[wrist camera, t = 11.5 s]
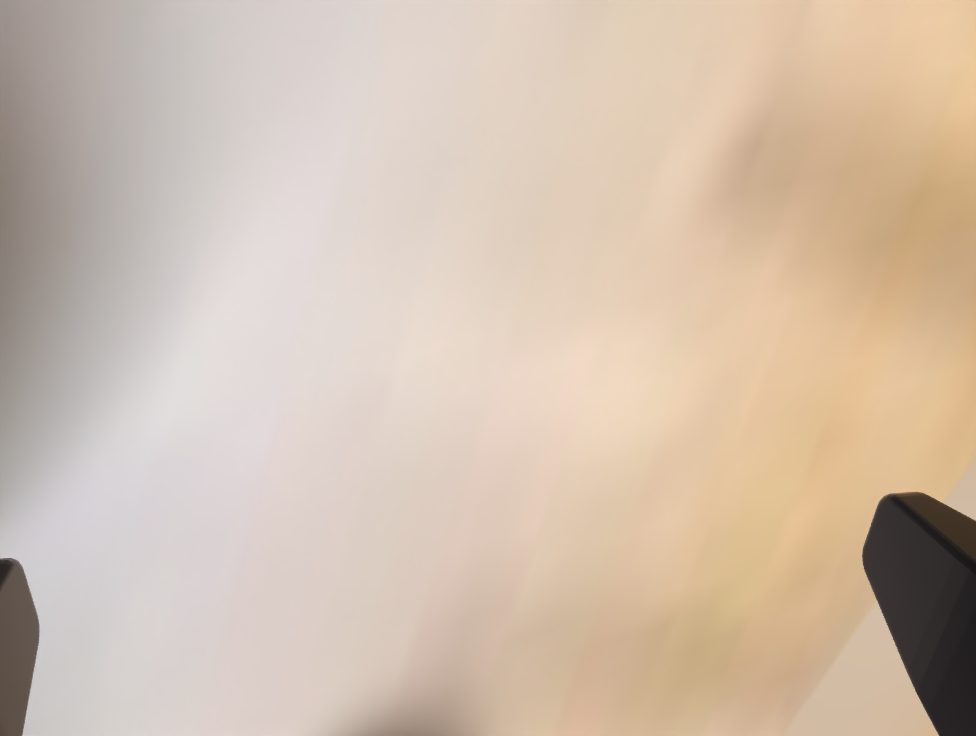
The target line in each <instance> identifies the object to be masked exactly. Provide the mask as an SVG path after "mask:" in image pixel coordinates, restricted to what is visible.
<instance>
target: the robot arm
mask: <svg viewBox="0 0 976 736" xmlns="http://www.w3.org/2000/svg"><path fill="white" fill-rule="evenodd" d="M862 558H863V565H864V569H865V573H866V575H867V577H868V580H869V582H870V585H871V587H872V589H873V592H874V594H875V597H876V599H877V601H878V604H879V606H880V608H881V611H882V613H883V616H884V618H885V620H886V623H887V625H888V627H889V630H890V632H891V635H892V637H893V640H894V642H895V644H896V646H897V649H898V652H899V654H900V656H901V659H902V661H903V663H904V666H905V668H906V671H907V673H908V675H909V677H910V679H911V682H912V684H913V686H914V688H915V690H916V692H917V695H918V697H919V699H920V700H921V702H922V704H923V706H924V708H925V710H926V712H927V714H928V716H929V718H930V719H931V721H932V723H933V725H934V727H935V729H936V731H937V732H938V734H939V736H976V521H975V520H973V519H971V518H969V517H967V516H966V515H963V514H962V513H960V512H958V511H956V510H954V509H952V508H951V507H949V506H947V505H945V504H943V503H941V502H939V501H938V500H936V499H934V498H932V497H930V496H928V495H926V494H924V493H920V492H907V493H893V494H888V495H886V496H884V497H883V498H882V499H881V500H880V501H879V504H878V506H877V509H876V512H875V515H874V518H873V520H872V523H871V526H870V529H869V532H868V535H867V538H866V541H865V544H864V547H863V555H862ZM38 643H39V620H38V616H37V612H36V609H35V606H34V602H33V599H32V596H31V593H30V589H29V586H28V583H27V579H26V576H25V573H24V570H23V567H22V566H21V564H20V563H19V561H17V560H15V559H12V558H3V559H0V736H22V734H23V728H24V723H25V717H26V711H27V706H28V700H29V694H30V689H31V683H32V677H33V672H34V666H35V660H36V655H37V649H38Z"/></svg>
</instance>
